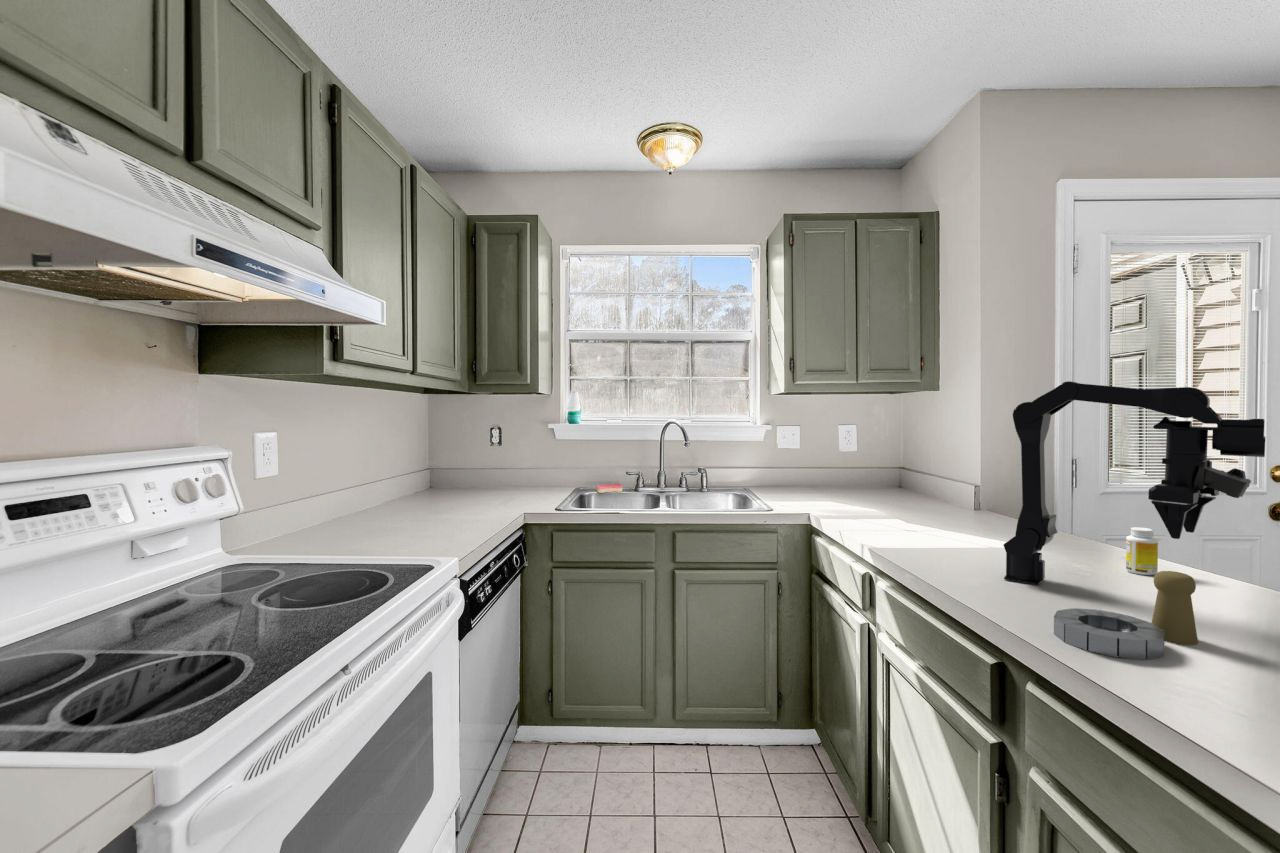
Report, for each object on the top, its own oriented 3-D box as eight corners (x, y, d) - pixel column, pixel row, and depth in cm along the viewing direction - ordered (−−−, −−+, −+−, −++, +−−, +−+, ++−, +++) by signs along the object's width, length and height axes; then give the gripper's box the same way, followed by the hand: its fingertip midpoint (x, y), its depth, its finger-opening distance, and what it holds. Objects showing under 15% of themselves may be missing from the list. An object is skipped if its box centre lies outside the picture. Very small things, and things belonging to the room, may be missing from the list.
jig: (1048, 642, 96) (1048, 624, 96) (1061, 619, 106) (1061, 603, 106) (1162, 667, 87) (1162, 647, 86) (1165, 639, 97) (1165, 621, 97)
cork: (1139, 631, 100) (1140, 568, 100) (1172, 630, 101) (1173, 567, 100) (1174, 645, 94) (1175, 578, 94) (1209, 644, 95) (1210, 577, 94)
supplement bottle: (1163, 575, 133) (1164, 530, 133) (1144, 577, 132) (1145, 532, 132) (1138, 568, 138) (1138, 525, 138) (1119, 570, 137) (1120, 527, 137)
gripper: (1233, 459, 99) (1229, 551, 99) (1258, 454, 109) (1254, 536, 110) (1149, 455, 108) (1146, 538, 108) (1179, 450, 118) (1176, 526, 119)
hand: (1182, 535), depth 111 cm, fingers open, 9 cm apart
